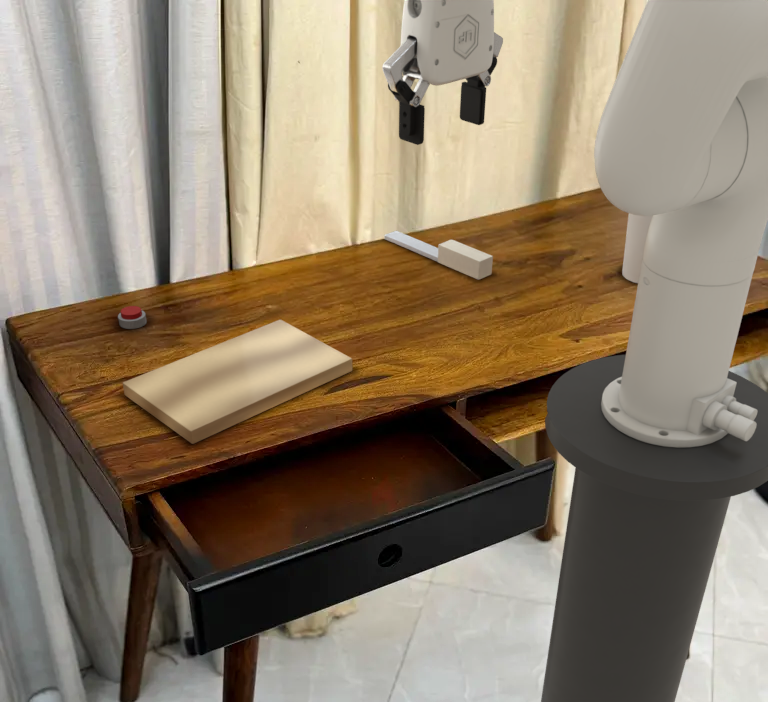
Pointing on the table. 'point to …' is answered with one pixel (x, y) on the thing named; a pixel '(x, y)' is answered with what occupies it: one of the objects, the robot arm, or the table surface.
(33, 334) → the table surface
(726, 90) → the robot arm
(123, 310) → the push button
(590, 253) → the table surface
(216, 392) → the cutting board
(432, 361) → the table surface
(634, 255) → the white cup
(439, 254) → the knife
